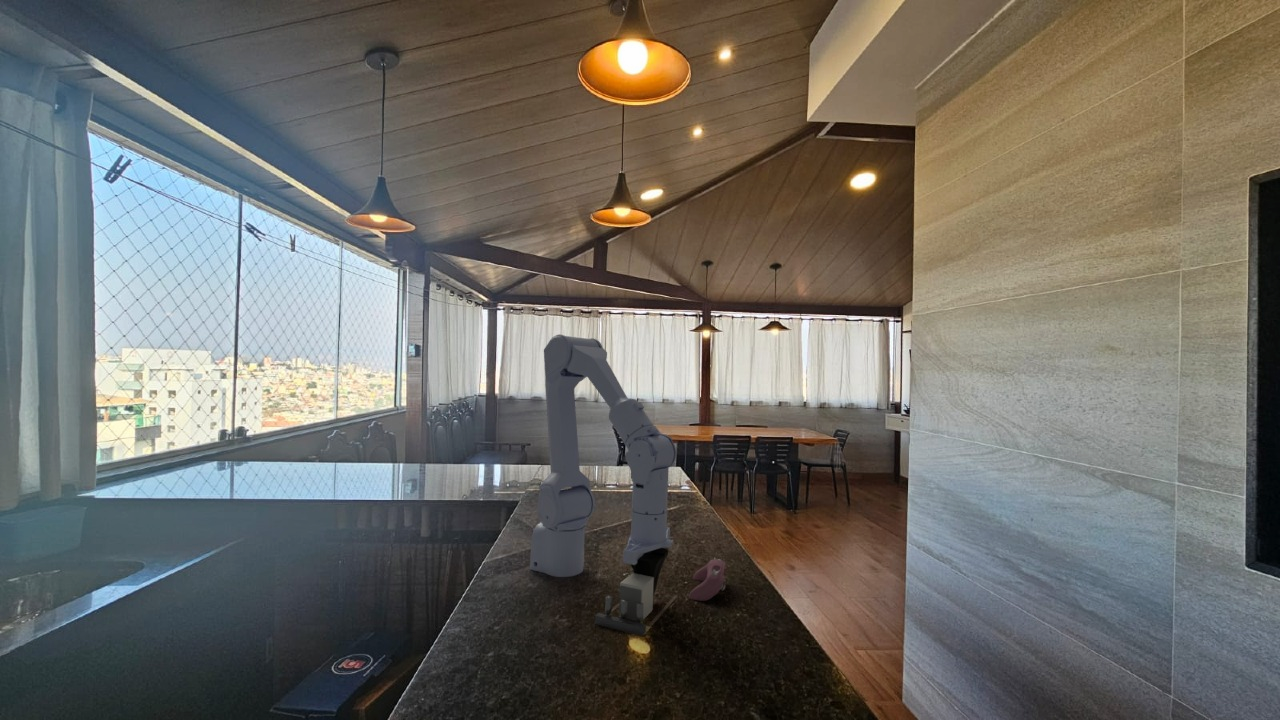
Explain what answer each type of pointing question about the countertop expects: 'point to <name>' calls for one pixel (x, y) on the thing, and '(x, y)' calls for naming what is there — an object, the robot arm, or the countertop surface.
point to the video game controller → (709, 580)
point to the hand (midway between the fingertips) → (646, 596)
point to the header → (622, 618)
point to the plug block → (637, 594)
